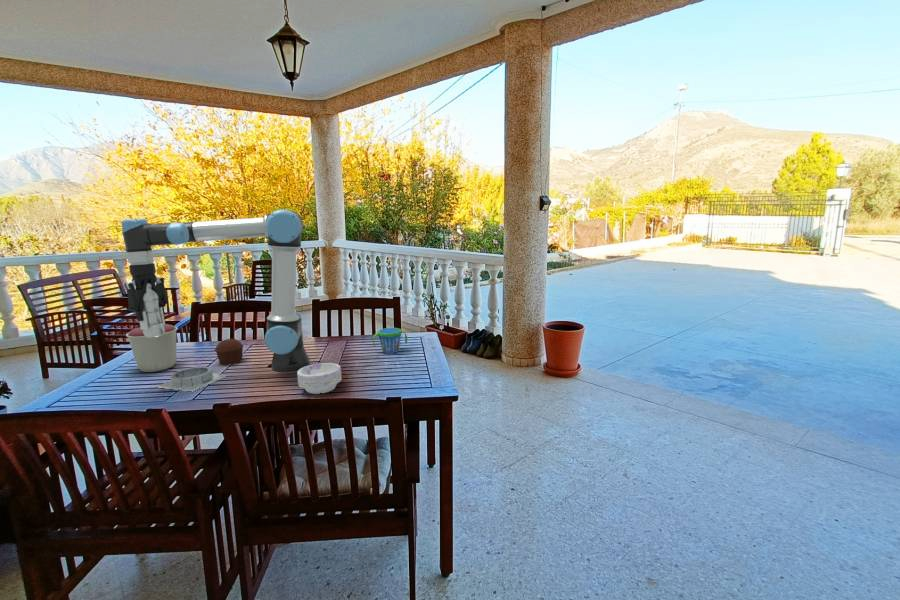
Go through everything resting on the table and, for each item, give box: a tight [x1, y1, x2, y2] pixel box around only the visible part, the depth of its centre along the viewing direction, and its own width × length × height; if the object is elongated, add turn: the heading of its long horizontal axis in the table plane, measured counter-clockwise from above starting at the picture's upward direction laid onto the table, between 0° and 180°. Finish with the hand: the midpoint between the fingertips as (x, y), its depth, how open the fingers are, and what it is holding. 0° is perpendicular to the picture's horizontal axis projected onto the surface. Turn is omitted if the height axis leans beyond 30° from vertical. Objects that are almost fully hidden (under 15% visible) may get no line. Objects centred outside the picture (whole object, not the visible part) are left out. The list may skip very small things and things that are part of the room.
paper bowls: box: [296, 362, 342, 395], centre depth 160 cm, size 15×15×8 cm
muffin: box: [214, 338, 244, 366], centre depth 194 cm, size 12×11×10 cm
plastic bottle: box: [143, 283, 165, 338], centre depth 159 cm, size 6×7×20 cm
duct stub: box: [157, 366, 227, 393], centre depth 170 cm, size 16×16×4 cm
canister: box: [125, 323, 178, 373], centre depth 186 cm, size 18×18×21 cm
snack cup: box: [372, 327, 408, 354], centre depth 202 cm, size 16×10×10 cm
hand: (153, 326), depth 160 cm, fingers closed on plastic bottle, 6 cm apart
